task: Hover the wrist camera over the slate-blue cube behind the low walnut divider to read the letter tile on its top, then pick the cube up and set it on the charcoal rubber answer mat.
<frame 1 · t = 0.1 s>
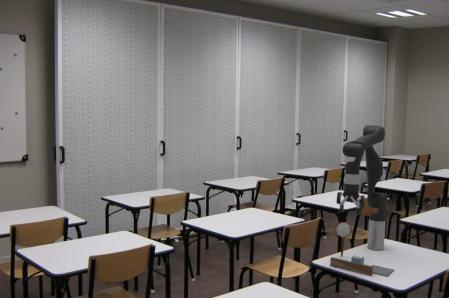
hand: (349, 213, 251), 29 cm above the table, fingers open, 8 cm apart
letter cube: (357, 266, 258), on the table
walnut divider: (350, 270, 251), on the table
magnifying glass: (341, 257, 272), on the table
answer mat: (379, 271, 251), on the table
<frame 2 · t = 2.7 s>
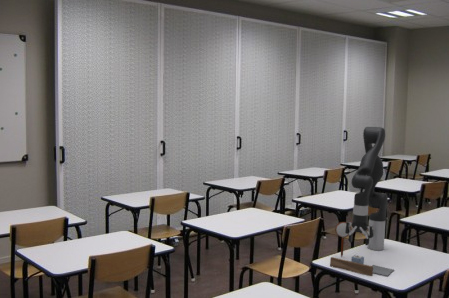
hand: (358, 243, 257), 12 cm above the table, fingers open, 8 cm apart
nothing on the table moved.
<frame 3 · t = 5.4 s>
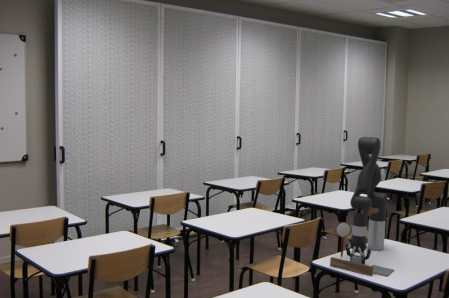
hand: (357, 265, 258), 0 cm above the table, fingers closed on letter cube, 5 cm apart
letter cube: (357, 266, 258), on the table, touching gripper
everything else where it was.
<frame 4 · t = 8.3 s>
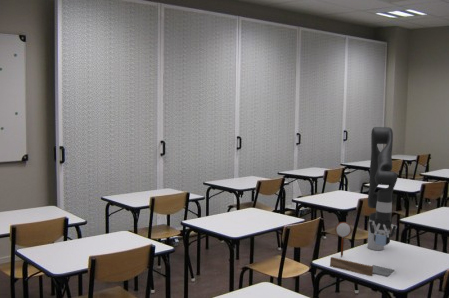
hand: (381, 242, 250), 15 cm above the table, fingers closed on letter cube, 5 cm apart
letter cube: (381, 243, 250), point 14 cm above the table, touching gripper
everything else where it was.
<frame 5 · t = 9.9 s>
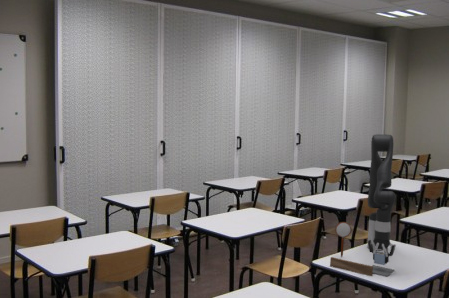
hand: (380, 261, 251), 5 cm above the table, fingers closed on letter cube, 5 cm apart
letter cube: (380, 262, 251), point 4 cm above the table, touching gripper
everything else where it was.
when the fingers open (3 cm above the table, at t = 11.3 s): letter cube drops 1 cm, resting on answer mat.
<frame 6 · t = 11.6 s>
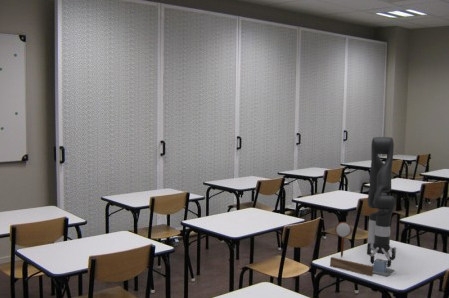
hand: (380, 265, 251), 3 cm above the table, fingers open, 7 cm apart
letter cube: (380, 270, 251), point 1 cm above the table, touching answer mat
everything else where it was.
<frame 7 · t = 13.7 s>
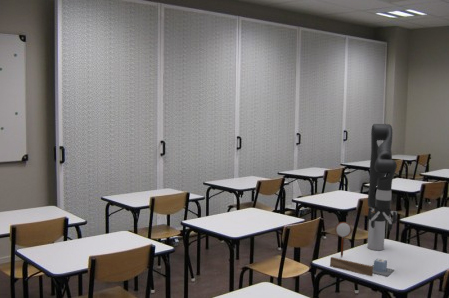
hand: (381, 229, 252), 21 cm above the table, fingers open, 8 cm apart
nothing on the table moved.
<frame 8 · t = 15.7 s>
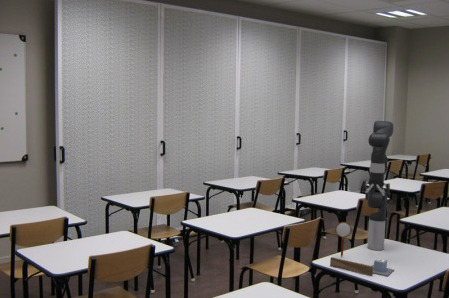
hand: (375, 201, 264), 33 cm above the table, fingers open, 8 cm apart
nothing on the table moved.
at the end: letter cube 0.0 cm off-centre on the answer mat, point 0.6 cm above the answer mat's base; letter cube tilted 0°; the gripper is holding nothing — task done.
